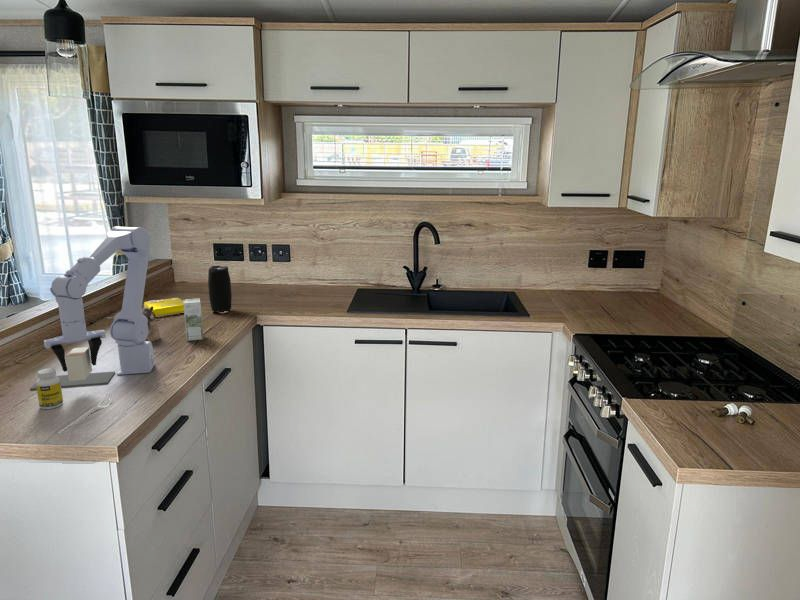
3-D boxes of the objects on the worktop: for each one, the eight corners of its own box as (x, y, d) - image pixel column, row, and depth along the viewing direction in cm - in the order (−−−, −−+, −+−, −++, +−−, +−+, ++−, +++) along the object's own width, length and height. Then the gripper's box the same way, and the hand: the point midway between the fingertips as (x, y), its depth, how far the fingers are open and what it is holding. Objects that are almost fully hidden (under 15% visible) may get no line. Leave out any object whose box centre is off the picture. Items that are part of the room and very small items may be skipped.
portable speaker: (236, 310, 245) (233, 265, 241) (222, 315, 237) (219, 269, 232) (220, 308, 248) (217, 264, 244) (206, 313, 240) (202, 268, 235)
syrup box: (203, 335, 210) (199, 297, 206) (203, 340, 204) (200, 301, 201) (186, 337, 208) (183, 298, 204) (186, 342, 202) (183, 302, 199)
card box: (92, 370, 160) (88, 346, 159) (85, 379, 154) (81, 354, 152) (76, 371, 160) (73, 347, 158) (68, 381, 153) (65, 355, 151)
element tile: (152, 319, 233) (150, 308, 232) (143, 311, 244) (142, 300, 243) (189, 313, 241) (188, 302, 240) (179, 306, 253) (178, 296, 252)
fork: (52, 436, 135) (51, 429, 134) (106, 400, 154) (105, 393, 153) (64, 437, 134) (63, 430, 134) (117, 401, 153) (116, 394, 153)
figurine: (136, 338, 206) (132, 307, 203) (156, 335, 210) (153, 303, 207) (142, 343, 200) (138, 311, 198) (162, 339, 205) (159, 307, 202)
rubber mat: (115, 372, 173) (115, 371, 173) (107, 383, 164) (107, 382, 164) (42, 378, 168) (41, 376, 168) (30, 390, 160) (30, 388, 160)
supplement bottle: (40, 411, 146) (34, 376, 144) (38, 404, 150) (33, 369, 148) (64, 406, 149) (59, 371, 147) (62, 399, 153) (57, 365, 151)
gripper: (98, 312, 160) (104, 357, 164) (38, 321, 151) (46, 369, 154) (105, 317, 155) (111, 364, 159) (44, 327, 146) (51, 376, 149)
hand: (79, 367), depth 156 cm, fingers closed on card box, 6 cm apart
